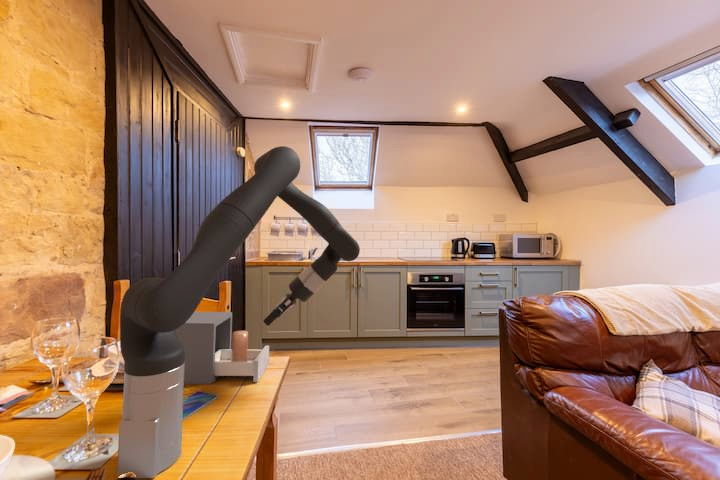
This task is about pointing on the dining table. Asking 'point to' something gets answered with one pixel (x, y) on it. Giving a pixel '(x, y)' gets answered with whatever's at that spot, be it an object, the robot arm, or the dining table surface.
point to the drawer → (242, 363)
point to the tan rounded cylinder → (239, 346)
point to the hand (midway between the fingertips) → (269, 319)
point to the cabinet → (204, 344)
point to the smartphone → (196, 402)
